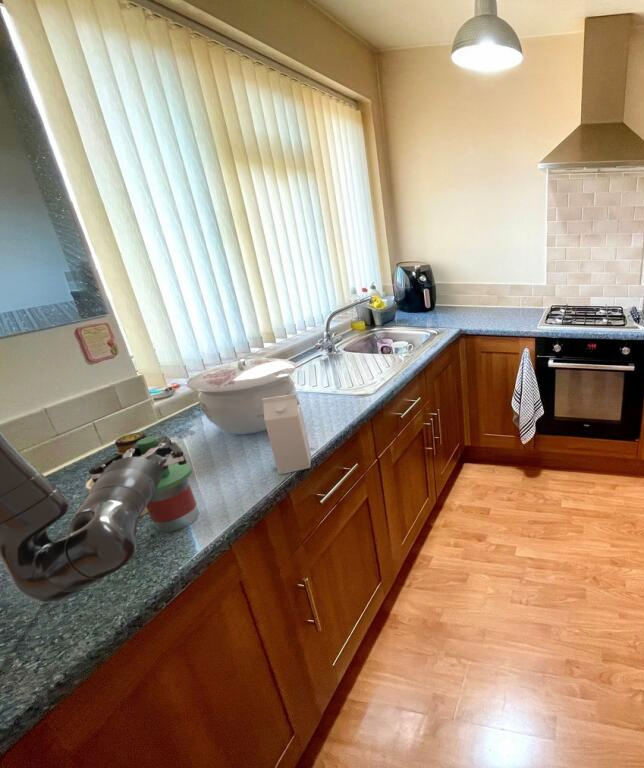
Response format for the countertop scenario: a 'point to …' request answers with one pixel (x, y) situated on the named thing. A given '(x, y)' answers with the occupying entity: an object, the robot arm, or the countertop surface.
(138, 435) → the condiment
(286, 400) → the milk carton
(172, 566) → the countertop surface
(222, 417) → the chamber pot
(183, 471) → the lid
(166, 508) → the tin
